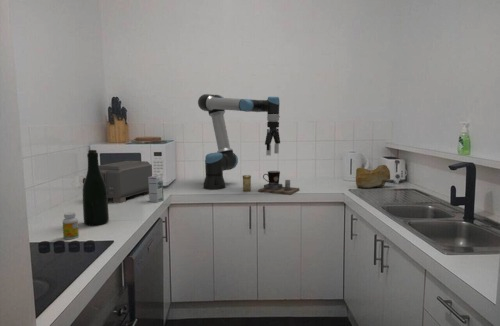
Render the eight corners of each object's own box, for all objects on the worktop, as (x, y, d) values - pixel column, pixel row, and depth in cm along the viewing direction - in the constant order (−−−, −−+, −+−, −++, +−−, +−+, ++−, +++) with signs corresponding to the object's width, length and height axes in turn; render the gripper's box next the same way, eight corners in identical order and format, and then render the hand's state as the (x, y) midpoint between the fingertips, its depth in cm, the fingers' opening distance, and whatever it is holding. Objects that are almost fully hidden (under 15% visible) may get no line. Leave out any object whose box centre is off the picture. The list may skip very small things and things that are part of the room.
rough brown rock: (381, 185, 259) (380, 164, 258) (393, 187, 242) (392, 164, 242) (349, 187, 256) (348, 165, 256) (359, 189, 240) (358, 166, 239)
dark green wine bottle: (96, 218, 172) (92, 148, 169) (114, 221, 168) (110, 149, 165) (78, 224, 163) (73, 150, 159) (96, 227, 159) (92, 151, 155)
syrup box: (157, 202, 206) (157, 176, 204) (149, 201, 208) (148, 176, 206) (163, 200, 211) (162, 175, 210) (155, 199, 213) (154, 175, 212)
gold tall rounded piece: (241, 191, 236) (241, 176, 235) (245, 190, 241) (245, 174, 240) (248, 192, 234) (248, 176, 233) (252, 190, 239) (252, 175, 237)
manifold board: (258, 192, 234) (257, 180, 233) (268, 187, 248) (268, 176, 247) (290, 194, 224) (290, 182, 223) (299, 190, 238) (299, 178, 237)
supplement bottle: (60, 238, 144) (58, 214, 143) (71, 234, 149) (70, 211, 148) (70, 240, 142) (69, 215, 141) (81, 236, 147) (80, 212, 146)
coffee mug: (280, 184, 259) (280, 170, 258) (280, 187, 251) (280, 172, 250) (263, 184, 260) (263, 170, 259) (263, 186, 252) (262, 172, 251)
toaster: (89, 202, 209) (87, 166, 207) (130, 191, 242) (128, 160, 239) (116, 204, 202) (114, 167, 200) (154, 193, 235) (153, 161, 232)
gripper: (271, 121, 222) (270, 156, 224) (285, 121, 244) (284, 152, 247) (259, 121, 225) (259, 155, 227) (274, 120, 247) (274, 152, 250)
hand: (272, 154), depth 237 cm, fingers open, 13 cm apart
